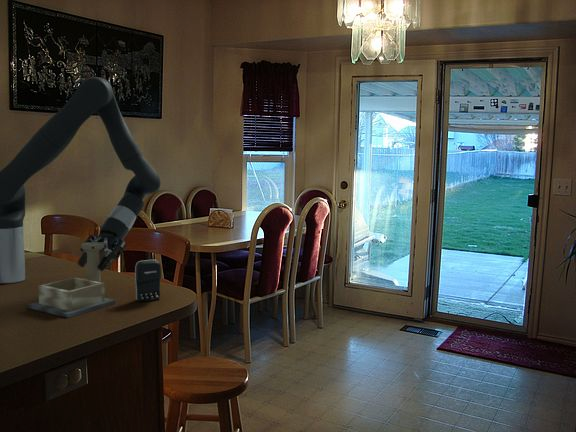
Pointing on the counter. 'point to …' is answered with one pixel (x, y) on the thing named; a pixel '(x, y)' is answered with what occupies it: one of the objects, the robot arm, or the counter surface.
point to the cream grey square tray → (71, 297)
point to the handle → (93, 260)
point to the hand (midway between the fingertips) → (89, 267)
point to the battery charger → (147, 280)
